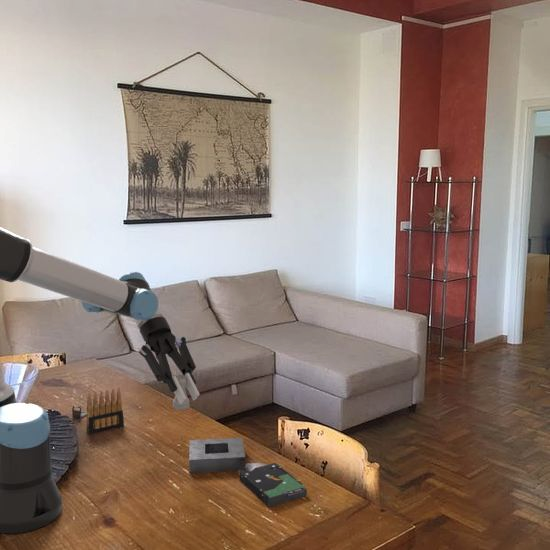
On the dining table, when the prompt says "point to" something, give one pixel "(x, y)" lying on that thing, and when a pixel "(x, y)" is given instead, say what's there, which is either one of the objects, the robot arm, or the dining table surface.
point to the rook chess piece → (185, 404)
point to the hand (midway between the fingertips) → (189, 399)
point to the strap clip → (77, 414)
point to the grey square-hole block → (216, 455)
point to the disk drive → (273, 484)
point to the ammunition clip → (104, 412)
